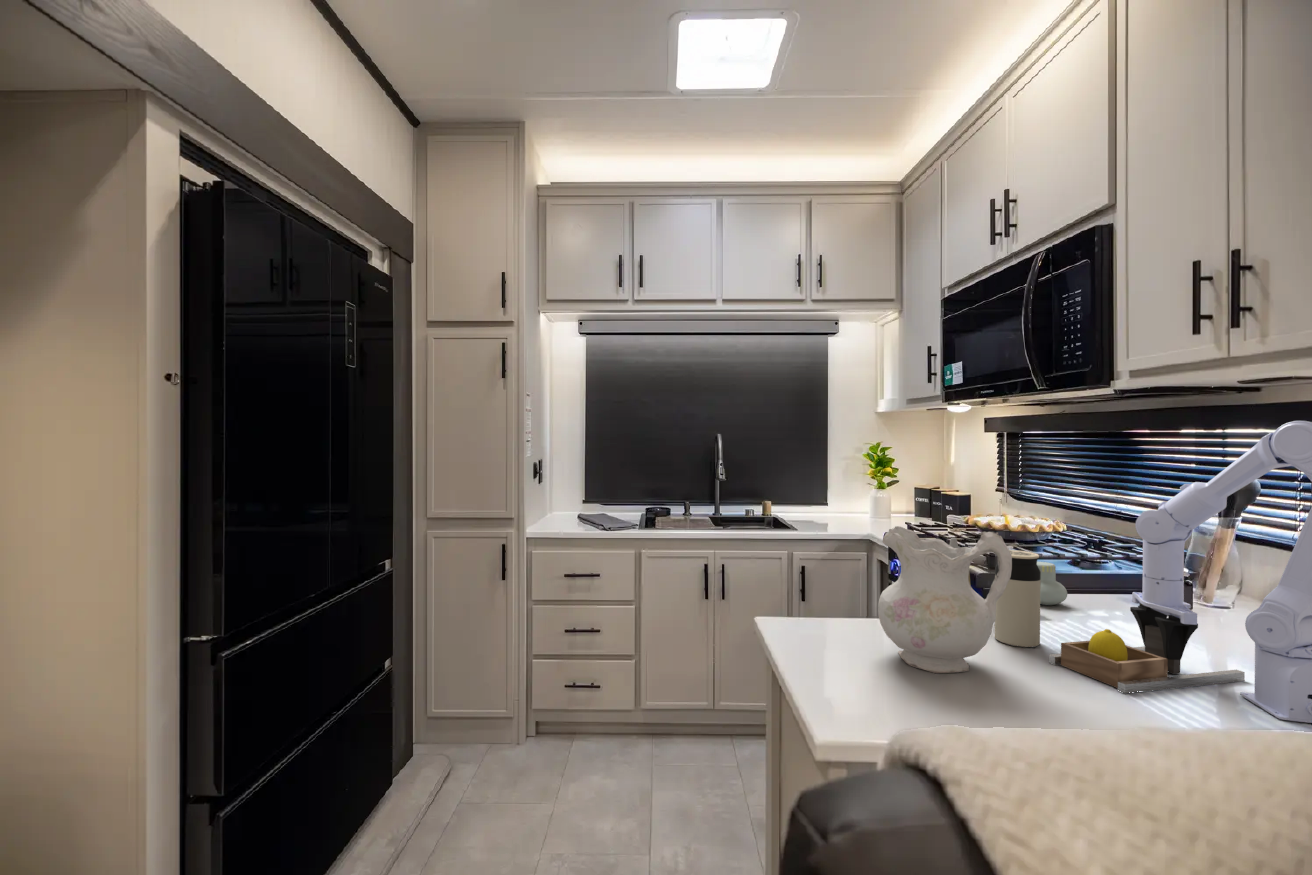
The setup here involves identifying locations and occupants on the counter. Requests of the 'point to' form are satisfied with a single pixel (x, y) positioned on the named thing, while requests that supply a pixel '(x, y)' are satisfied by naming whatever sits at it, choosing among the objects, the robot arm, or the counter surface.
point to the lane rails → (1171, 679)
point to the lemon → (1108, 645)
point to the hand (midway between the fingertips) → (1162, 653)
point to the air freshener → (1050, 585)
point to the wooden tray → (1112, 671)
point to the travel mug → (1020, 603)
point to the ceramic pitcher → (940, 600)
